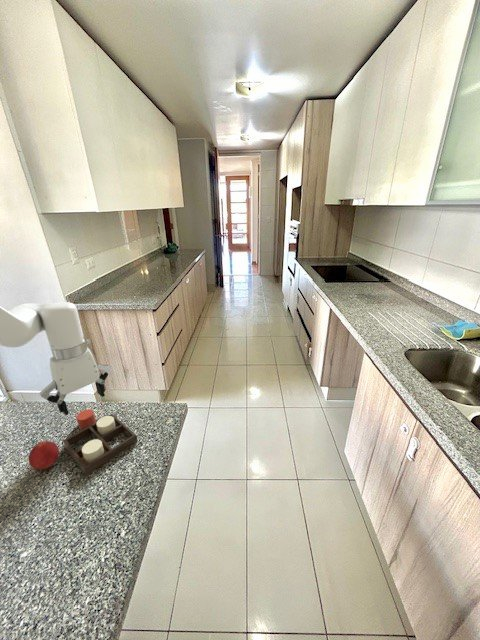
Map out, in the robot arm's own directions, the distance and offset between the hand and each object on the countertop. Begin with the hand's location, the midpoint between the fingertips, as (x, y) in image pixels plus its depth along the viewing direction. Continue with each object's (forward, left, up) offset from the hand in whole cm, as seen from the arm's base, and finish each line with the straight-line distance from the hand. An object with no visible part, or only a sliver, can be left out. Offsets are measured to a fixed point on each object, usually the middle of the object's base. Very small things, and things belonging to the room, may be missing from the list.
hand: (84, 403), depth 74 cm
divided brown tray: (+11, -1, -8) cm, 13 cm away
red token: (0, 0, -8) cm, 8 cm away
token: (+8, +2, -7) cm, 11 cm away
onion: (+7, -13, -8) cm, 16 cm away
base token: (+14, -4, -7) cm, 16 cm away
